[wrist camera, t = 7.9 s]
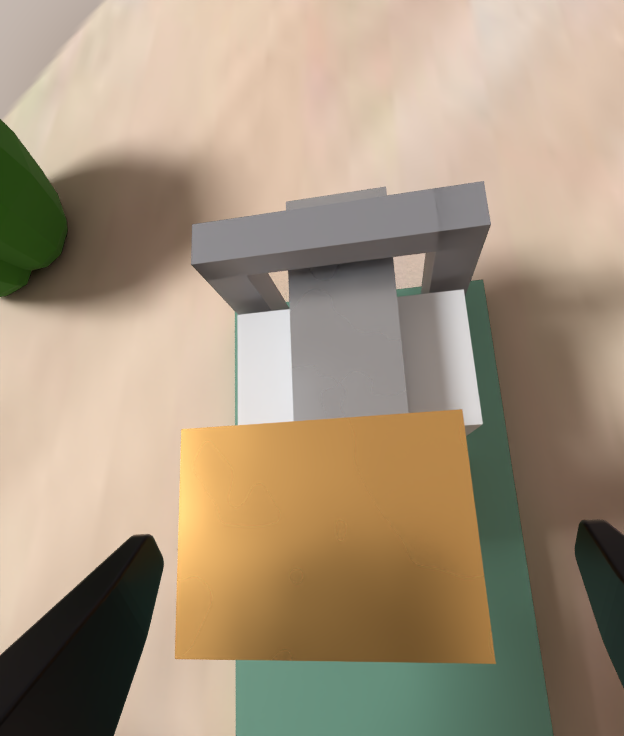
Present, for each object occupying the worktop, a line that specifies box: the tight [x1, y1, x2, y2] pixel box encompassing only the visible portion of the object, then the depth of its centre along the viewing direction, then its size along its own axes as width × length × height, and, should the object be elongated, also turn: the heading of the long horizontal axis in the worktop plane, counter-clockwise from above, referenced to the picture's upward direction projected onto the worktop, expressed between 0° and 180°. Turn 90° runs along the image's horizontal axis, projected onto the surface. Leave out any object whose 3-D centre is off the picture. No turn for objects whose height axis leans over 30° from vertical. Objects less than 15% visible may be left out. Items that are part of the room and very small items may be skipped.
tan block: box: [175, 187, 496, 664], centre depth 12 cm, size 10×4×10 cm, turn 3°
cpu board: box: [191, 181, 553, 736], centre depth 13 cm, size 20×10×8 cm, turn 3°
